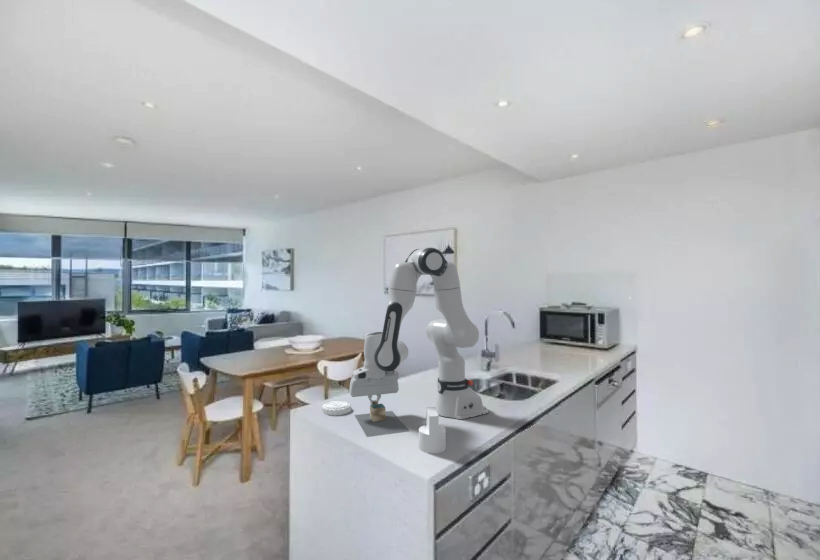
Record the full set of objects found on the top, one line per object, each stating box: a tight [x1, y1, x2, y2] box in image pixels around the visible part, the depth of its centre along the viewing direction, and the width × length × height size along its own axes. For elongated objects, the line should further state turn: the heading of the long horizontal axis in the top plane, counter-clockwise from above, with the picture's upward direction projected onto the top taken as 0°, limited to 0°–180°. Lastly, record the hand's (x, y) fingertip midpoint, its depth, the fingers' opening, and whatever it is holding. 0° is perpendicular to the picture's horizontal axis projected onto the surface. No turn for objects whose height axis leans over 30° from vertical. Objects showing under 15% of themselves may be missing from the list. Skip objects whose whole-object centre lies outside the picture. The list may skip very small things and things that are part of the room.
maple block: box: [369, 403, 386, 422], centre depth 152 cm, size 5×5×5 cm
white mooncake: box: [321, 399, 352, 416], centre depth 162 cm, size 12×12×4 cm
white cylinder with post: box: [418, 406, 447, 455], centre depth 128 cm, size 9×9×12 cm
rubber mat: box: [354, 410, 410, 438], centre depth 148 cm, size 16×23×1 cm
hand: (374, 405), depth 157 cm, fingers closed
